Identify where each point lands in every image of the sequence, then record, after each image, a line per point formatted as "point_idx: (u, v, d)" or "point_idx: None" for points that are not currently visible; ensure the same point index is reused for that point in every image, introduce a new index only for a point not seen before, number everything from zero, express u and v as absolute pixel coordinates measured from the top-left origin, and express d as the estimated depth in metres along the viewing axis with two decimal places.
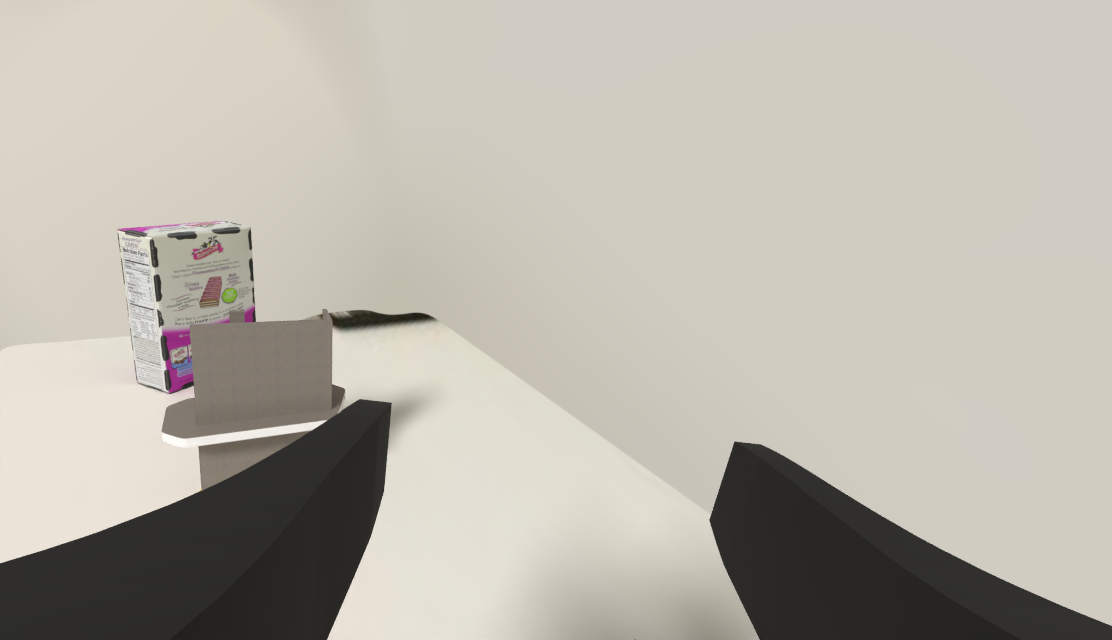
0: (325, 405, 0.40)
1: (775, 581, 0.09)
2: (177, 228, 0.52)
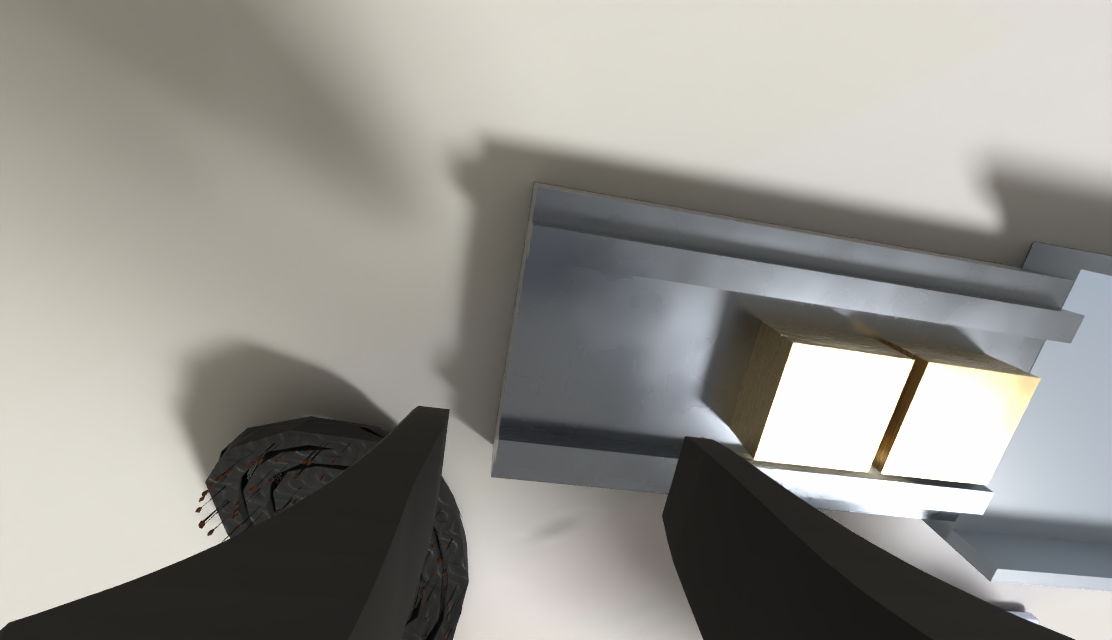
0: None
1: (716, 576, 0.09)
2: None
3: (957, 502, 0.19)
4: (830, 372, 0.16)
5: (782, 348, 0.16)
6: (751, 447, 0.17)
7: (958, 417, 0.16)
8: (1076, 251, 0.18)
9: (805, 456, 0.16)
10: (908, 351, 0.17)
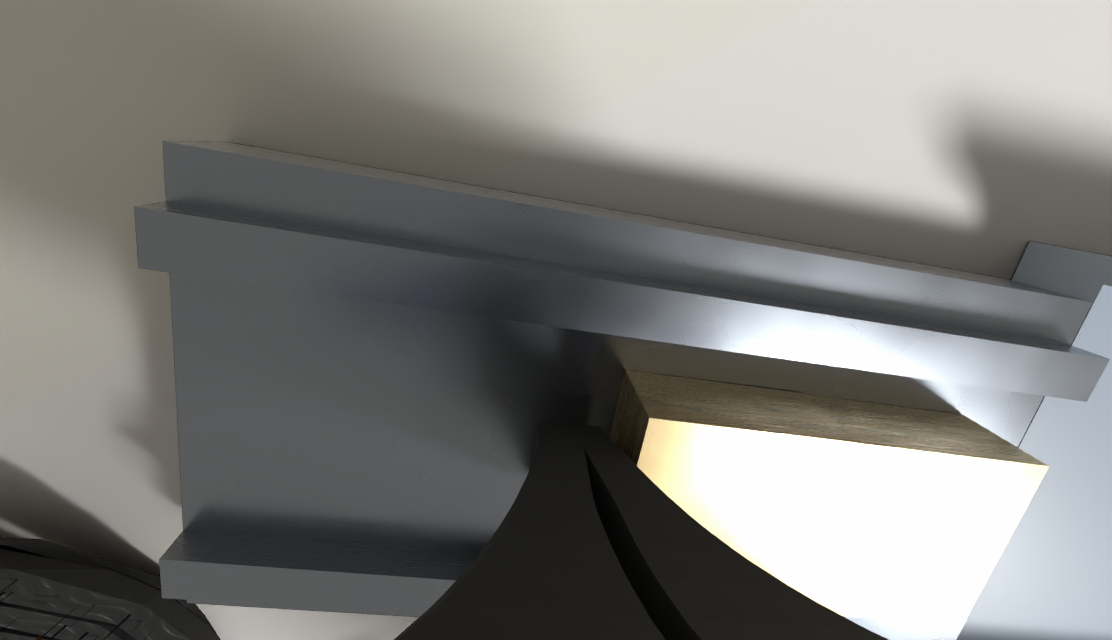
0: None
1: None
2: None
3: (913, 631, 0.13)
4: (718, 465, 0.09)
5: (639, 423, 0.09)
6: None
7: (914, 527, 0.10)
8: (1095, 256, 0.11)
9: None
10: None
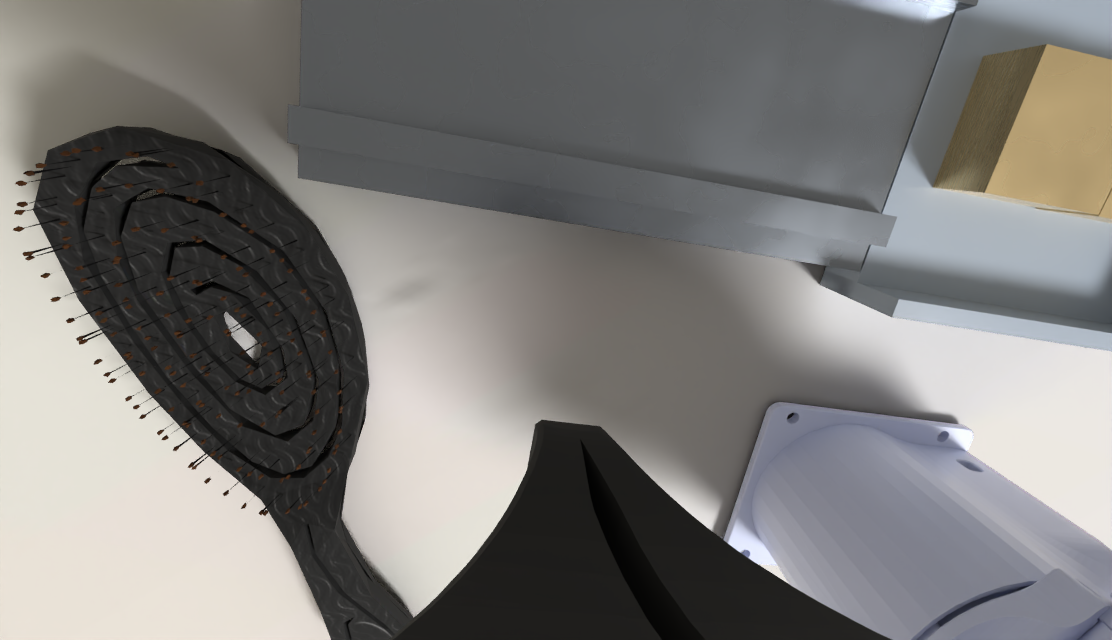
0: None
1: None
2: None
3: (854, 228, 0.16)
4: (1079, 84, 0.14)
5: (1026, 60, 0.15)
6: (979, 183, 0.15)
7: None
8: None
9: (1038, 191, 0.15)
10: None
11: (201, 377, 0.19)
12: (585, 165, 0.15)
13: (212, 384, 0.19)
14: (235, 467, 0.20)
